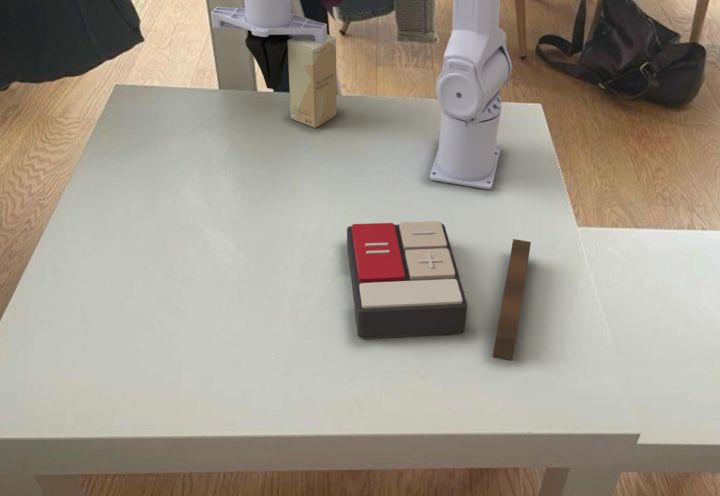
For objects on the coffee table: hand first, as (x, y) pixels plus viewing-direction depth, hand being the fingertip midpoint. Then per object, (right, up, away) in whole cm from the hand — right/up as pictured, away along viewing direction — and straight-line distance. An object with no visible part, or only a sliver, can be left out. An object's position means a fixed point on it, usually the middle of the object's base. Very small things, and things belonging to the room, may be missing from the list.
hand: (273, 85), depth 110 cm
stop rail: (+30, -31, -22) cm, 48 cm away
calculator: (+19, -29, -21) cm, 40 cm away
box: (+5, -4, +2) cm, 7 cm away
